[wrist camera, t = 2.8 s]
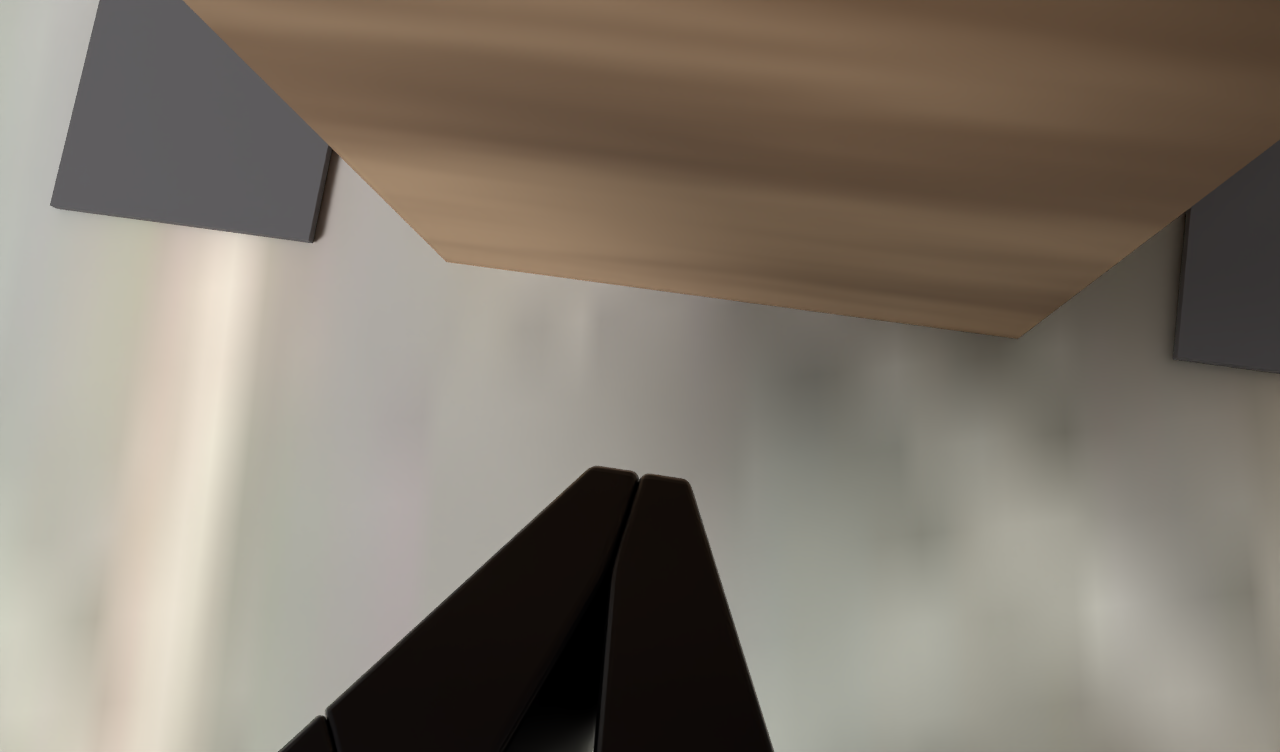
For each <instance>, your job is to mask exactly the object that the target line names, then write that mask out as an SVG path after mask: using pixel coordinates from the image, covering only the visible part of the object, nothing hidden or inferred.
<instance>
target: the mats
mask: <svg viewBox="0 0 1280 752" xmlns="http://www.w3.org/2000/svg"><path fill="white" fill-rule="evenodd" d="M331 152H332V148H331V147H330V146H329V145H328V144H327V143H326V142H325V141H324V140H323V139H322V138H321V137H320V136H319V135H318V134H317V133H316V132H315V131H314V130H313V129H312V128H311V127H310V126H309V125H308V124H307V123H306V122H305V121H304V120H303V119H302V118H301V117H300V116H299V115H298V114H297V113H296V112H295V111H294V110H293V109H292V108H291V107H290V106H289V105H288V104H287V103H286V102H285V101H284V100H283V99H282V98H281V97H280V96H279V95H278V94H277V93H276V92H275V91H274V90H273V89H272V88H271V87H270V86H269V85H268V84H267V83H266V82H265V81H264V80H263V79H262V78H261V77H260V76H259V75H258V74H257V73H256V72H255V71H253V70H252V69H251V68H250V67H249V66H248V65H247V64H246V63H245V62H244V61H243V60H242V59H241V58H240V57H239V56H238V55H237V54H236V53H235V52H234V51H233V50H232V49H231V48H230V47H229V46H228V45H227V44H226V43H225V42H224V41H223V40H222V39H221V38H220V37H219V36H218V35H217V34H216V33H215V32H214V31H213V30H212V29H211V28H210V27H209V26H208V25H207V24H206V23H205V22H204V21H203V20H202V19H201V18H200V17H199V16H198V15H197V14H196V13H195V12H194V11H193V10H192V9H191V8H190V7H189V6H188V5H187V4H186V3H185V2H184V1H183V0H100V1H99V5H98V9H97V13H96V18H95V22H94V26H93V30H92V34H91V38H90V42H89V46H88V51H87V55H86V59H85V63H84V67H83V71H82V75H81V79H80V84H79V88H78V92H77V96H76V100H75V104H74V108H73V112H72V117H71V121H70V125H69V129H68V133H67V137H66V141H65V145H64V150H63V154H62V158H61V162H60V166H59V170H58V174H57V178H56V183H55V187H54V191H53V195H52V199H51V203H50V205H51V206H53V207H55V208H57V209H64V210H71V211H79V212H86V213H93V214H101V215H108V216H116V217H123V218H131V219H138V220H145V221H153V222H160V223H168V224H175V225H182V226H190V227H197V228H205V229H212V230H219V231H227V232H234V233H242V234H249V235H256V236H264V237H271V238H279V239H286V240H294V241H301V242H308V243H313V239H314V234H315V230H316V225H317V220H318V215H319V210H320V205H321V201H322V196H323V191H324V186H325V181H326V176H327V172H328V167H329V162H330V157H331ZM1173 359H1175V360H1183V361H1190V362H1197V363H1205V364H1212V365H1220V366H1227V367H1234V368H1242V369H1249V370H1257V371H1264V372H1271V373H1279V374H1280V140H1279V141H1277V142H1276V143H1275V144H1273V145H1272V146H1271V147H1269V148H1268V149H1267V150H1266V151H1264V152H1263V153H1262V154H1260V155H1259V156H1258V157H1256V158H1255V159H1254V160H1252V161H1251V162H1250V163H1248V164H1247V165H1246V166H1245V167H1243V168H1242V169H1241V170H1239V171H1238V172H1237V173H1235V174H1234V175H1233V176H1231V177H1230V178H1229V179H1227V180H1226V181H1225V182H1223V183H1222V184H1221V185H1220V186H1218V187H1217V188H1216V189H1214V190H1213V191H1212V192H1210V193H1209V194H1208V195H1206V196H1205V197H1204V198H1202V199H1201V200H1200V201H1198V202H1197V203H1196V204H1195V205H1193V206H1192V207H1191V208H1189V209H1188V210H1187V211H1186V221H1185V232H1184V243H1183V254H1182V265H1181V276H1180V287H1179V298H1178V309H1177V320H1176V331H1175V342H1174V353H1173Z"/></svg>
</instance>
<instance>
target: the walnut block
mask: <svg viewBox="0 0 1280 752" xmlns="http://www.w3.org/2000/svg"><path fill="white" fill-rule="evenodd" d="M183 1H184V2H185V3H186V4H187V5H188V6H189V7H190V8H191V9H192V10H193V11H194V12H195V13H196V14H197V15H198V16H199V17H200V18H201V19H202V20H203V21H204V22H205V23H206V24H207V25H208V26H209V27H210V28H211V29H212V30H213V31H214V32H215V33H216V34H217V35H218V36H219V37H220V38H221V39H222V40H223V41H224V42H225V43H226V44H227V45H228V46H229V47H230V48H231V49H232V50H233V51H234V52H235V53H236V54H237V55H238V56H239V57H240V58H241V59H242V60H243V61H244V62H245V63H246V64H247V65H248V66H249V67H250V68H251V69H252V70H253V71H255V72H256V73H257V74H258V75H259V76H260V77H261V78H262V79H263V80H264V81H265V82H266V83H267V84H268V85H269V86H270V87H271V88H272V89H273V90H274V91H275V92H276V93H277V94H278V95H279V96H280V97H281V98H282V99H283V100H284V101H285V102H286V103H287V104H288V105H289V106H290V107H291V108H292V109H293V110H294V111H295V112H296V113H297V114H298V115H299V116H300V117H301V118H302V119H303V120H304V121H305V122H306V123H307V124H308V125H309V126H310V127H311V128H312V129H313V130H314V131H315V132H316V133H317V134H318V135H319V136H320V137H321V138H322V139H323V140H324V141H325V142H326V143H327V144H328V145H329V146H330V147H331V148H332V149H333V150H334V151H335V152H336V153H337V154H338V155H339V156H340V157H341V158H342V159H343V160H344V161H345V162H346V163H347V164H348V165H349V166H350V167H351V168H352V169H353V170H354V171H355V172H356V173H357V174H358V175H359V176H360V177H361V178H362V179H363V180H364V181H365V182H366V183H367V184H368V185H369V186H370V187H371V188H372V189H373V190H375V191H376V192H377V193H378V194H379V195H380V196H381V197H382V198H383V199H384V200H385V201H386V202H387V203H388V204H389V205H390V206H391V207H392V208H393V209H394V210H395V211H396V212H397V213H398V214H399V215H400V216H401V217H402V218H403V219H404V220H405V221H406V222H407V223H408V224H409V225H410V226H411V227H412V228H413V229H414V230H415V231H416V232H417V233H418V234H419V235H420V236H421V237H422V238H423V239H424V240H425V241H426V242H427V243H428V244H429V245H430V246H431V247H432V248H433V249H434V250H435V251H436V252H437V253H438V254H439V255H440V256H441V257H442V258H443V259H444V260H445V261H446V262H451V263H459V264H466V265H474V266H481V267H488V268H496V269H503V270H511V271H518V272H525V273H533V274H540V275H548V276H555V277H563V278H570V279H577V280H585V281H592V282H600V283H607V284H615V285H622V286H629V287H637V288H644V289H652V290H659V291H666V292H674V293H681V294H689V295H696V296H704V297H711V298H718V299H726V300H733V301H741V302H748V303H756V304H763V305H770V306H778V307H785V308H793V309H800V310H808V311H815V312H822V313H830V314H837V315H845V316H852V317H859V318H867V319H874V320H882V321H889V322H897V323H904V324H911V325H919V326H926V327H934V328H941V329H949V330H956V331H963V332H971V333H978V334H986V335H993V336H1000V337H1008V338H1015V339H1018V338H1020V337H1021V336H1022V335H1024V334H1025V333H1026V332H1028V331H1029V330H1030V329H1031V328H1033V327H1034V326H1035V325H1037V324H1038V323H1039V322H1041V321H1042V320H1043V319H1045V318H1046V317H1047V316H1049V315H1050V314H1051V313H1053V312H1054V311H1055V310H1056V309H1058V308H1059V307H1060V306H1062V305H1063V304H1064V303H1066V302H1067V301H1068V300H1070V299H1071V298H1072V297H1074V296H1075V295H1076V294H1078V293H1079V292H1080V291H1081V290H1083V289H1084V288H1085V287H1087V286H1088V285H1089V284H1091V283H1092V282H1093V281H1095V280H1096V279H1097V278H1099V277H1100V276H1101V275H1102V274H1104V273H1105V272H1106V271H1108V270H1109V269H1110V268H1112V267H1113V266H1114V265H1116V264H1117V263H1118V262H1120V261H1121V260H1122V259H1124V258H1125V257H1126V256H1127V255H1129V254H1130V253H1131V252H1133V251H1134V250H1135V249H1137V248H1138V247H1139V246H1141V245H1142V244H1143V243H1145V242H1146V241H1147V240H1149V239H1150V238H1151V237H1152V236H1154V235H1155V234H1156V233H1158V232H1159V231H1160V230H1162V229H1163V228H1164V227H1166V226H1167V225H1168V224H1170V223H1171V222H1172V221H1174V220H1175V219H1176V218H1177V217H1179V216H1180V215H1181V214H1183V213H1184V212H1185V211H1187V210H1188V209H1189V208H1191V207H1192V206H1193V205H1195V204H1196V203H1197V202H1198V201H1200V200H1201V199H1202V198H1204V197H1205V196H1206V195H1208V194H1209V193H1210V192H1212V191H1213V190H1214V189H1216V188H1217V187H1218V186H1220V185H1221V184H1222V183H1223V182H1225V181H1226V180H1227V179H1229V178H1230V177H1231V176H1233V175H1234V174H1235V173H1237V172H1238V171H1239V170H1241V169H1242V168H1243V167H1245V166H1246V165H1247V164H1248V163H1250V162H1251V161H1252V160H1254V159H1255V158H1256V157H1258V156H1259V155H1260V154H1262V153H1263V152H1264V151H1266V150H1267V149H1268V148H1269V147H1271V146H1272V145H1273V144H1275V143H1276V142H1277V141H1279V140H1280V0H183Z"/></svg>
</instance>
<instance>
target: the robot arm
mask: <svg viewBox="0 0 1280 752" xmlns="http://www.w3.org/2000/svg"><path fill="white" fill-rule="evenodd" d="M325 716H326V718H325V717H324V716H321V715H320V716H317V717H316V718H314V719H313V720H312V721H311V722H310V723H309V724H308V725H307V726H306V727H305V728H304V729H303V730H302V731H300V732H299V733H298V734H297V735H296V736H295V737H294V738H293V739H292V740H291V741H290V742H288V743H287V744H286V745H285V746H284V747H283V748H282V749H281V750H279V751H278V752H592V751H593V752H774V750H773V746H772V743H771V740H770V737H769V734H768V730H767V727H766V724H765V721H764V718H763V714H762V711H761V708H760V705H759V702H758V698H757V695H756V692H755V689H754V686H753V682H752V679H751V676H750V673H749V670H748V666H747V663H746V660H745V657H744V654H743V650H742V647H741V644H740V641H739V637H738V634H737V631H736V628H735V625H734V621H733V618H732V615H731V612H730V609H729V605H728V602H727V599H726V596H725V593H724V589H723V586H722V583H721V580H720V577H719V573H718V570H717V567H716V564H715V561H714V557H713V554H712V551H711V548H710V545H709V541H708V538H707V535H706V532H705V529H704V525H703V522H702V519H701V516H700V513H699V509H698V506H697V503H696V500H695V496H694V493H693V490H692V487H691V485H690V484H689V482H688V481H686V480H685V479H681V478H675V477H668V476H662V475H655V474H645V475H643V476H642V477H641V479H640V480H639V477H638V475H637V474H636V473H635V472H633V471H629V470H622V469H616V468H609V467H603V466H594V467H591V468H589V469H588V470H586V471H585V472H584V473H583V474H582V475H581V476H580V477H579V478H578V479H577V480H576V481H574V482H573V483H572V484H571V485H570V486H569V487H568V488H567V489H566V490H565V491H563V492H562V493H561V494H560V495H559V496H558V497H557V498H556V499H555V500H554V501H553V502H551V503H550V504H549V505H548V506H547V507H546V508H545V509H544V510H543V511H542V512H541V513H539V514H538V515H537V516H536V517H535V518H534V519H533V520H532V521H531V522H530V523H529V524H527V525H526V526H525V527H524V528H523V529H522V530H521V531H520V532H519V533H518V534H516V535H515V536H514V537H513V538H512V539H511V540H510V541H509V542H508V543H507V544H506V545H504V546H503V547H502V548H501V549H500V550H499V551H498V552H497V553H496V554H495V555H494V556H492V557H491V558H490V559H489V560H488V561H487V562H486V563H485V564H484V565H483V566H482V567H480V568H479V569H478V570H477V571H476V572H475V573H474V574H473V575H472V576H471V577H469V578H468V579H467V580H466V581H465V582H464V583H463V584H462V585H461V586H460V587H459V588H457V589H456V590H455V591H454V592H453V593H452V594H451V595H450V596H449V597H448V598H447V599H445V600H444V601H443V602H442V603H441V604H440V605H439V606H438V607H437V608H436V609H434V610H433V611H432V612H431V613H430V614H429V615H428V616H427V617H426V618H425V619H424V620H422V621H421V622H420V623H419V624H418V625H417V626H416V627H415V628H414V629H413V630H412V631H410V632H409V633H408V634H407V635H406V636H405V637H404V638H403V639H402V640H401V641H400V642H398V643H397V644H396V645H395V646H394V647H393V648H392V649H391V650H390V651H389V652H387V653H386V654H385V655H384V656H383V657H382V658H381V659H380V660H379V661H378V662H377V663H375V664H374V665H373V666H372V667H371V668H370V669H369V670H368V671H367V672H366V673H365V674H363V675H362V676H361V677H360V678H359V679H358V680H357V681H356V682H355V683H354V684H352V685H351V686H350V687H349V688H348V689H347V690H346V691H345V692H344V693H343V694H342V695H340V696H339V697H338V698H337V699H336V700H335V701H334V702H333V703H332V704H331V705H330V706H328V707H327V708H326V710H325ZM593 748H594V750H593Z"/></svg>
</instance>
